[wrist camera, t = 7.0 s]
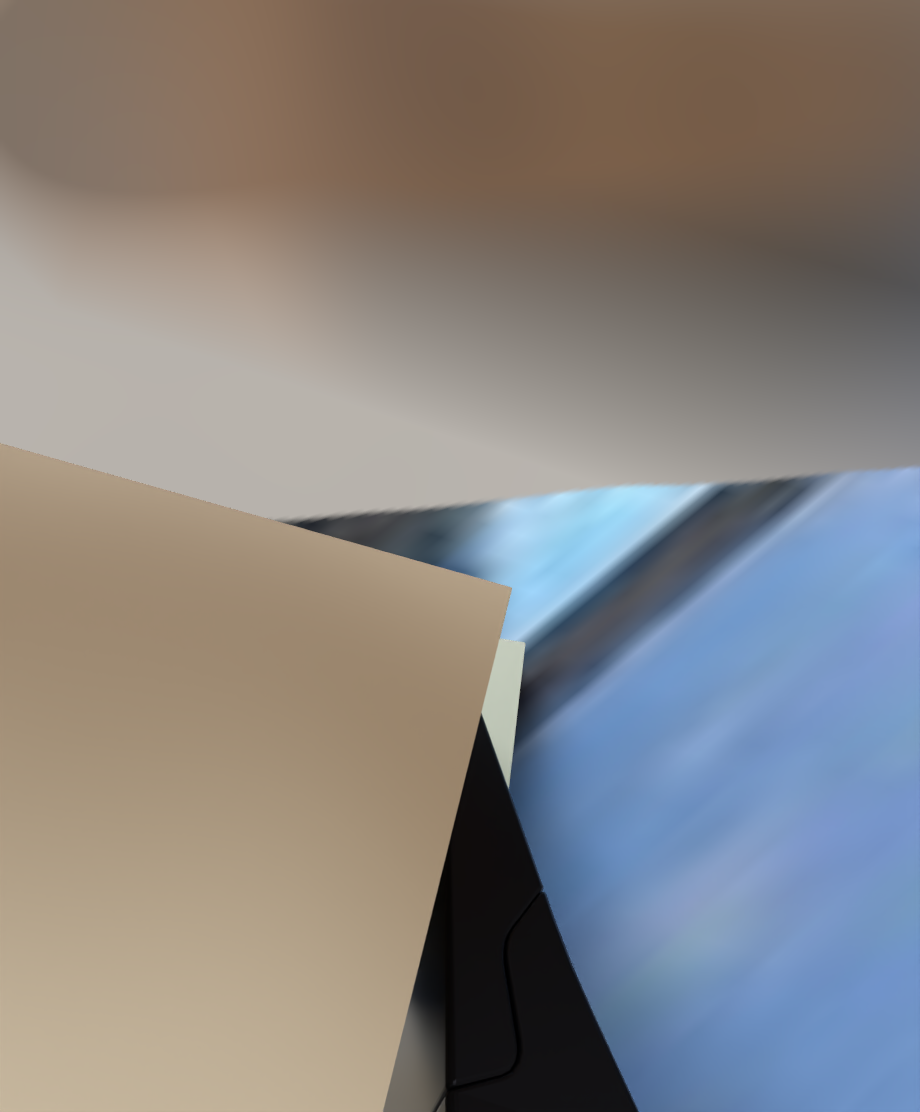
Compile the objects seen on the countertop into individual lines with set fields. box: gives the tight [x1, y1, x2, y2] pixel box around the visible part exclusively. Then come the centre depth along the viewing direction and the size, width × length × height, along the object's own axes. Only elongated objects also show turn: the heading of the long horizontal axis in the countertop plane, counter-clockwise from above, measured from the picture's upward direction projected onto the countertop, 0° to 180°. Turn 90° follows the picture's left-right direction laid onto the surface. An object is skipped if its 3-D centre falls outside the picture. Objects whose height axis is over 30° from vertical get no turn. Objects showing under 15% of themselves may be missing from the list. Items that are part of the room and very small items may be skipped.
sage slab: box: [481, 639, 525, 789], centre depth 18 cm, size 10×8×4 cm
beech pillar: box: [0, 443, 512, 1112], centre depth 9 cm, size 4×4×12 cm
